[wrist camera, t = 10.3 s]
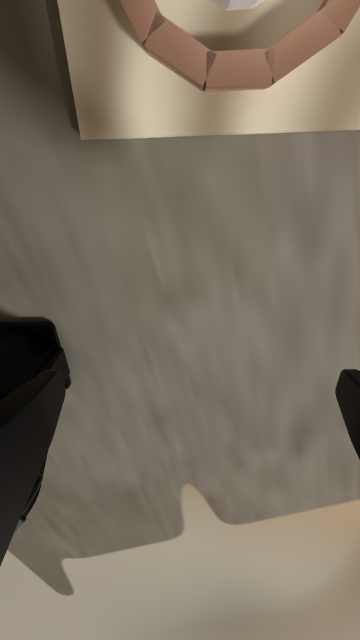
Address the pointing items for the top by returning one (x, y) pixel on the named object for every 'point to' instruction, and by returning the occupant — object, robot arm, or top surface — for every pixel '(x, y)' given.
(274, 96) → the collar board
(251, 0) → the white cylinder
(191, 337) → the top surface
